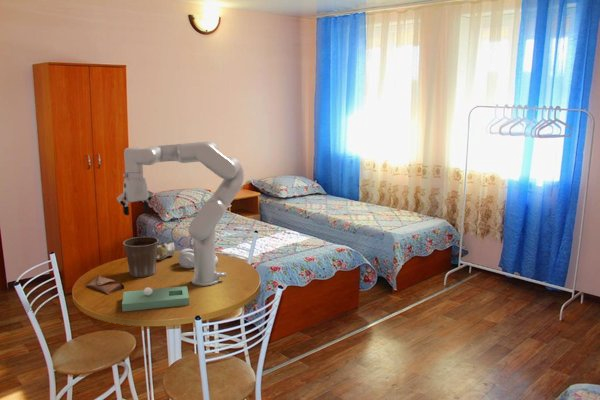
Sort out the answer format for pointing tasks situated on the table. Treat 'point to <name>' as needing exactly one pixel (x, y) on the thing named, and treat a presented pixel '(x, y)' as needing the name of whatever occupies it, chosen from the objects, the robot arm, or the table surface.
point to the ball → (148, 291)
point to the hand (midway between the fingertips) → (136, 213)
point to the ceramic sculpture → (165, 250)
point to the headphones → (189, 258)
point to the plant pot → (141, 255)
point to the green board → (155, 298)
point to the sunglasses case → (105, 285)
